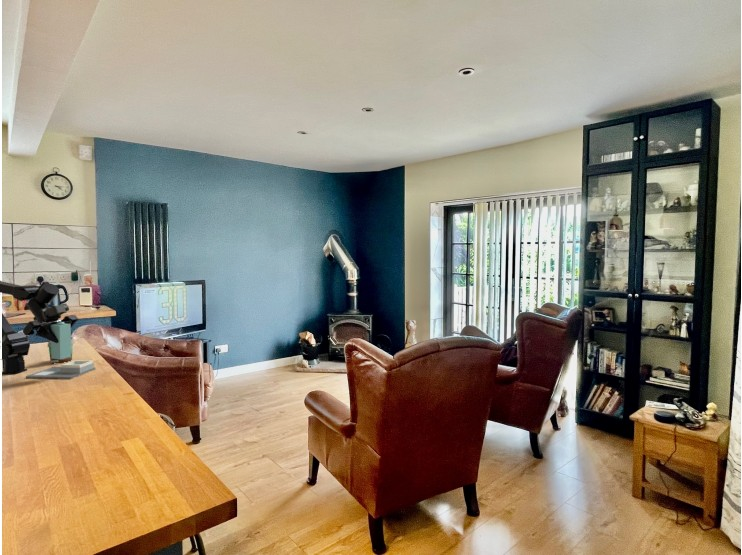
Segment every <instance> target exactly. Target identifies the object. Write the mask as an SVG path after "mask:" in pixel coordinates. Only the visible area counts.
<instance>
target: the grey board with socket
mask: <svg viewBox="0 0 742 555" xmlns="http://www.w3.org/2000/svg"><path fill="white" fill-rule="evenodd" d="M94 369H95V370H96V367H94V360H91V359H89V360H85V359H84V360H83V359H82V360H81V359H80V360H79V359H78V360H77V359H76V360H75V359H74V360H72V361H70V362H66V363H61V365H60V366H51V367H49V368H46V369H43V370H40V371H37V372H34V373H31V374H29V375H26V376H25V379H38V378H58V379H59V380H71V379H75V378H77V377H80V376H82V375H84V373H85V374H87V373H90V372H92V371H94ZM89 371H90V372H89ZM86 372H87V373H86ZM81 374H82V375H81ZM79 375H80V376H79ZM74 377H75V378H74Z"/></svg>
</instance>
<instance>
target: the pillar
mask: <svg viewBox="0 0 742 555" xmlns="http://www.w3.org/2000/svg"><path fill="white" fill-rule="evenodd" d="M51 330H52V331H53V333H54V334H55V336H56V337H57V339H58V341H59V342H58V343H55V342H53V341H50V342H51V358H52V359H64V358H68V357H71V337H72V327H71V324H64V322H57V324H54V325H51Z"/></svg>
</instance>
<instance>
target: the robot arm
mask: <svg viewBox="0 0 742 555" xmlns="http://www.w3.org/2000/svg"><path fill="white" fill-rule="evenodd" d="M1 293H2V294H5V295H9V296H12V297H13V298H14V300H15V299H16V300H17V301H20V302H24V301H27V302H26V303H25V305H24V308H23V310H24V311H29V310H30V312H31V313H32V315H33V316H34V317H33V318H32V319H33V320H31V321H28V322H27V324H26V325H25V326H24V328H23V329H22V331H20V332H16V331H15V329H14V328H13V326H12V325H11V324H10V322H9V321H8V319H7V318H6V317H5V315H4V314H3V313H2V359H1V361H2V371H1V372H2V374H1V375H15V374H19V373H22V372H25V370H26V371H28V368H26V366H25V364H26V362H25V359H24V358H25V357H24V356H28V355H29V352H30V346H31V344H30V341H29V338H28V336H33V335H34V334H35V335H34V336H36V337H41V338H44V339H47V340H48V341H49V342H51V341H53V342H55V343H58V342H59V341H58V339H57V337H56V336H55V334H54V333H53V331H52V330H51V325H54V324H57V322H64V324H71V328H73V327H74V325H75V324H76V323H77V322H78V321H79V318H78V316H77V315H76V314H70V315H65V316H64V317H63V319H61V318H62V316H61V315H63V314H66V313H67V312H69V311H70V307H69V305H68V304H67V303H65V302H64V303H61V304H58V305H52V306H51V307H50V306H49V305H48V304H50V303H52V301H53V300H54V299H55V298H56V296H58V294H59V293H60V288H59V287H58V286H57V285H55V284H52V283H50V282H49V281H42V282H41V283H40V286H38V285H37V284H36V285H35V284H34V285H32V284H31V285H20V284H15V283H10V282H6V281H2V280H0V294H1ZM59 319H60V320H59ZM35 331H36V332H35Z"/></svg>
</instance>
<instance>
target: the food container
mask: <svg viewBox="0 0 742 555" xmlns="http://www.w3.org/2000/svg"><path fill="white" fill-rule="evenodd" d="M75 342H76V341H75V340H74V337H72V336H71V357H68V358H64V359H52V358H51V341H48V343H47V348H48V353H49V360H50V364H51V365H55V364H54V363H60V364H65V363H64V362H66V363H68V361H70V362H71V360H72V361H73V345H74V343H75Z"/></svg>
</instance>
